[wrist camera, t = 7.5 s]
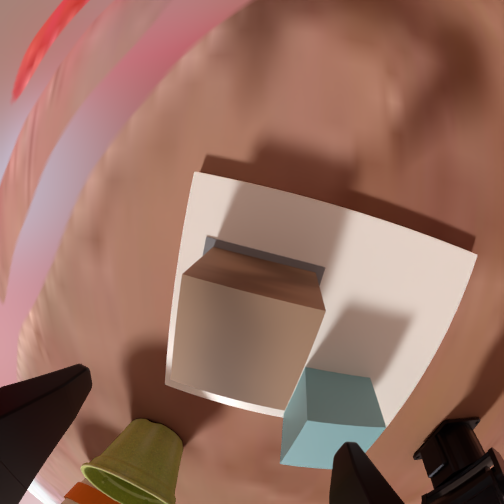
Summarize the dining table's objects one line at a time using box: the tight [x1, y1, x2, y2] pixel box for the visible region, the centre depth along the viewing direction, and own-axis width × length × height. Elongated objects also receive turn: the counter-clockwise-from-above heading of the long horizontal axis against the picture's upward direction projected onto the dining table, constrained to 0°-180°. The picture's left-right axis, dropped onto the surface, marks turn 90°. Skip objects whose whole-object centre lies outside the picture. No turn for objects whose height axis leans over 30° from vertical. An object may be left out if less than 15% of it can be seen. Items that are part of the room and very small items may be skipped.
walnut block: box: [171, 247, 326, 411], centre depth 14 cm, size 6×6×5 cm
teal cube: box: [280, 367, 386, 469], centre depth 15 cm, size 5×5×5 cm
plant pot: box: [81, 419, 183, 504], centre depth 19 cm, size 9×9×9 cm
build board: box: [165, 172, 477, 427], centre depth 17 cm, size 19×16×1 cm
